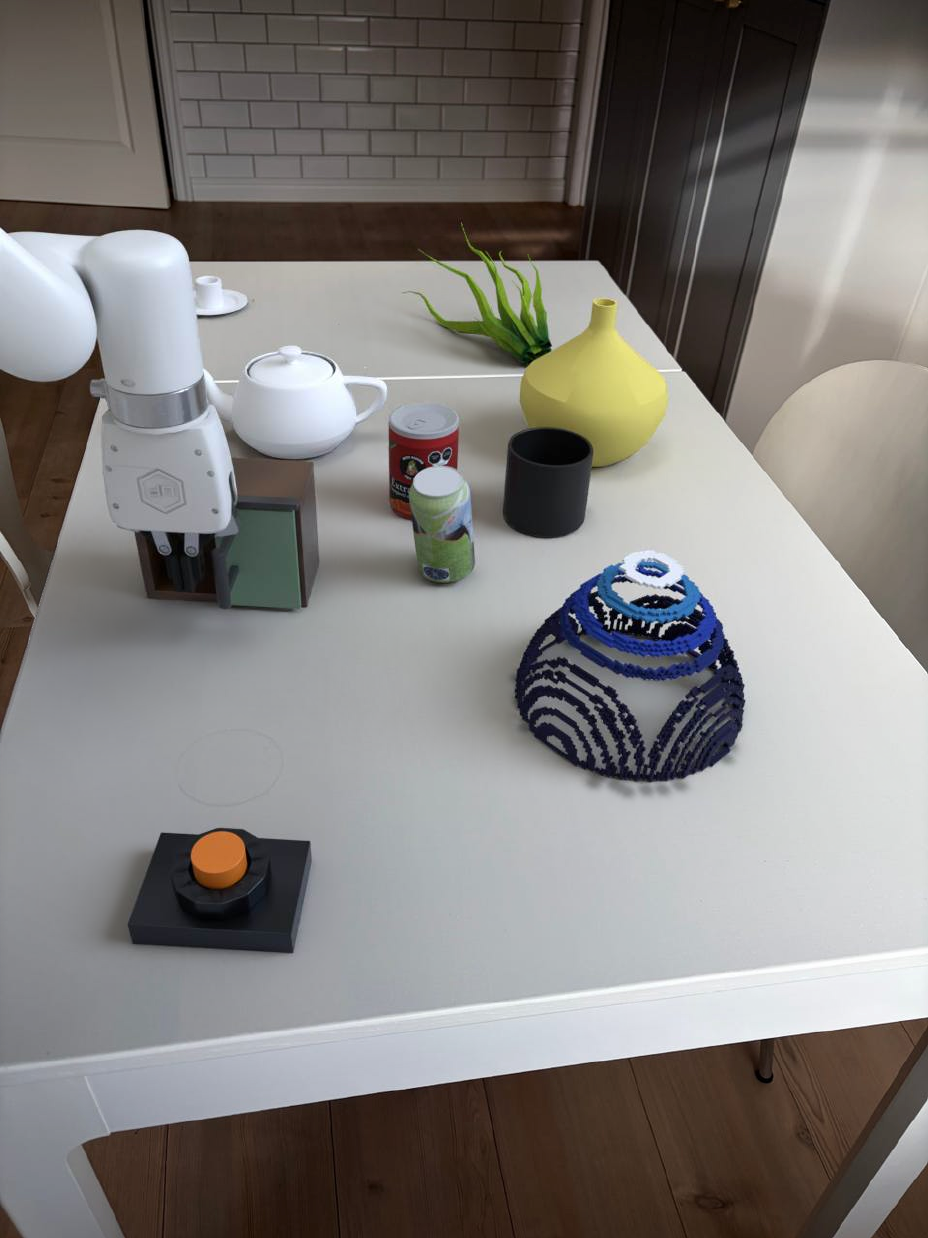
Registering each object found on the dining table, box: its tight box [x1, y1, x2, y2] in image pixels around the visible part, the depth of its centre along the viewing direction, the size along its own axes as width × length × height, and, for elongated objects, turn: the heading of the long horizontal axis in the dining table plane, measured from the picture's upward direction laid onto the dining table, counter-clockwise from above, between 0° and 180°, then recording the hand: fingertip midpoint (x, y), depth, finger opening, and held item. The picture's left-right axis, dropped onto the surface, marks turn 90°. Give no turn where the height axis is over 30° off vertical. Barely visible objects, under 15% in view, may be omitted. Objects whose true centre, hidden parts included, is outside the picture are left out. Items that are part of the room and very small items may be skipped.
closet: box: [133, 456, 320, 608], centre depth 97 cm, size 16×9×13 cm, turn 88°
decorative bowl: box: [513, 549, 746, 783], centre depth 85 cm, size 20×20×14 cm
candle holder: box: [193, 275, 249, 316], centre depth 161 cm, size 12×12×4 cm
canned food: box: [388, 402, 460, 520], centre depth 112 cm, size 8×8×11 cm
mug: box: [502, 427, 594, 538], centre depth 112 cm, size 9×12×9 cm
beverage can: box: [409, 466, 476, 584], centre depth 100 cm, size 6×7×12 cm
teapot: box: [203, 344, 388, 460], centre depth 122 cm, size 25×16×12 cm, turn 92°
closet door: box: [211, 507, 302, 610], centre depth 92 cm, size 8×6×11 cm
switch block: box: [127, 827, 313, 954], centre depth 69 cm, size 11×8×4 cm
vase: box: [518, 297, 669, 468], centre depth 122 cm, size 18×18×19 cm
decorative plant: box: [402, 222, 553, 367], centre depth 152 cm, size 18×30×15 cm, turn 12°
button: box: [191, 831, 247, 889], centre depth 68 cm, size 4×4×2 cm
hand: (188, 583), depth 90 cm, fingers closed
